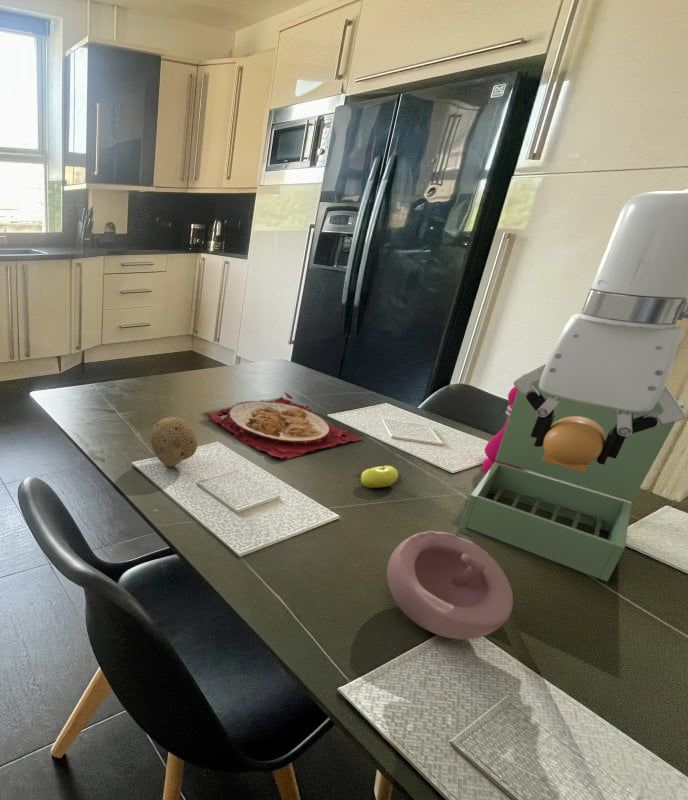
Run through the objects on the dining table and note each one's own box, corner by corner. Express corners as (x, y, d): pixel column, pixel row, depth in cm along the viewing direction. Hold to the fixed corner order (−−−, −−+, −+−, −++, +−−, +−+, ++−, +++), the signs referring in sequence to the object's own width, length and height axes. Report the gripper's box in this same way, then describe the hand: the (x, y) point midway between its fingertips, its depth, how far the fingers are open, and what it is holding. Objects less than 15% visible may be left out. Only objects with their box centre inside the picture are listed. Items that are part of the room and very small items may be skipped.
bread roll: (590, 478, 57) (608, 438, 55) (533, 461, 61) (548, 424, 59) (598, 455, 63) (614, 419, 61) (545, 441, 66) (559, 406, 65)
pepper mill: (483, 460, 99) (516, 367, 92) (529, 475, 94) (568, 377, 87) (473, 471, 95) (507, 375, 88) (520, 487, 90) (560, 385, 82)
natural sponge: (180, 451, 101) (184, 407, 98) (203, 471, 94) (209, 424, 90) (141, 457, 98) (144, 412, 95) (162, 479, 91) (166, 431, 87)
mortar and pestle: (401, 655, 55) (428, 575, 51) (362, 581, 66) (382, 510, 62) (518, 671, 53) (556, 589, 49) (459, 592, 64) (485, 520, 60)
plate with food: (202, 419, 117) (203, 406, 116) (281, 401, 127) (283, 389, 126) (275, 464, 98) (278, 449, 96) (362, 439, 108) (365, 425, 106)
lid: (684, 406, 64) (688, 388, 66) (522, 375, 75) (531, 360, 78) (632, 501, 73) (637, 482, 75) (495, 460, 84) (503, 445, 87)
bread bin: (603, 589, 65) (624, 548, 63) (457, 531, 77) (470, 494, 74) (613, 539, 76) (631, 502, 73) (482, 494, 87) (495, 461, 85)
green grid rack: (588, 572, 67) (596, 556, 66) (475, 528, 76) (480, 514, 75) (598, 533, 76) (605, 518, 75) (494, 498, 85) (499, 484, 84)
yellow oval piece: (351, 482, 91) (356, 464, 89) (385, 476, 93) (390, 458, 91) (369, 494, 87) (374, 475, 85) (404, 488, 89) (410, 469, 88)
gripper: (748, 317, 51) (669, 468, 58) (537, 296, 63) (492, 423, 70) (754, 327, 47) (669, 490, 53) (526, 302, 59) (479, 437, 65)
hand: (569, 450), depth 61 cm, fingers closed on bread roll, 5 cm apart
